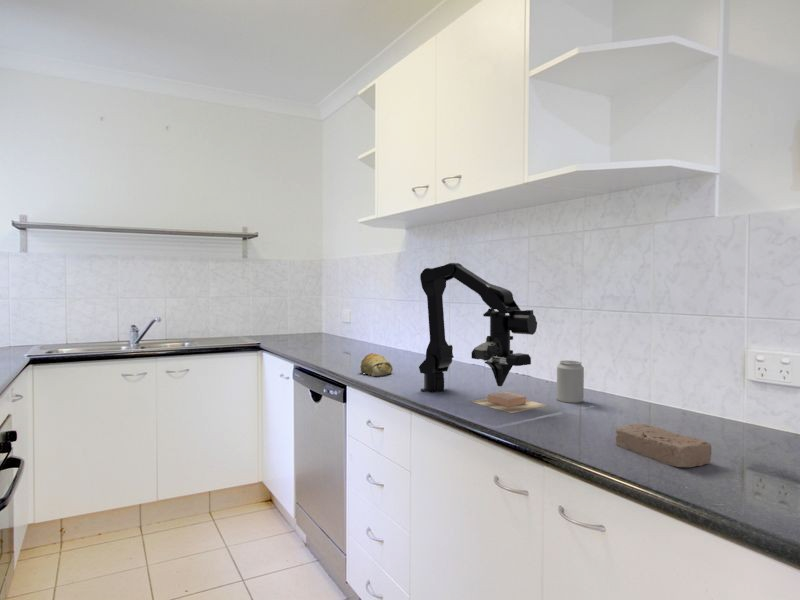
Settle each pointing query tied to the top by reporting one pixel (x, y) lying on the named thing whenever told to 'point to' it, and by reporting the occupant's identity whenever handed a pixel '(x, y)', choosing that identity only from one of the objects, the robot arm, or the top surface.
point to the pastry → (375, 365)
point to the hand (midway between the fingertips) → (499, 386)
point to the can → (570, 381)
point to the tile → (507, 399)
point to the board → (511, 409)
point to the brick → (663, 445)
